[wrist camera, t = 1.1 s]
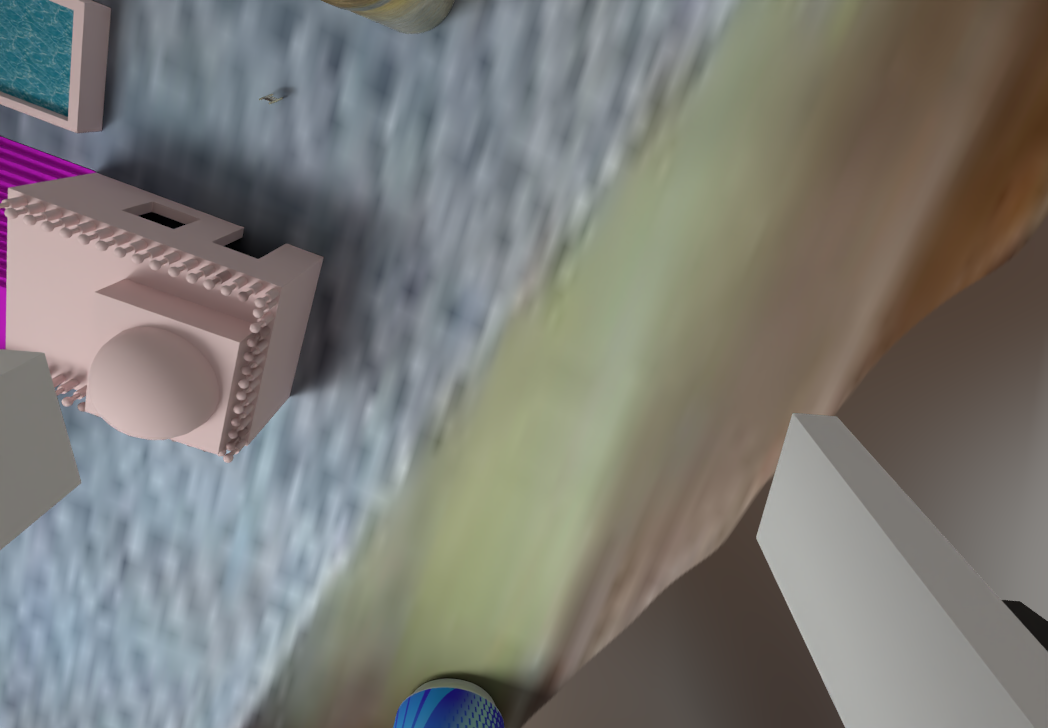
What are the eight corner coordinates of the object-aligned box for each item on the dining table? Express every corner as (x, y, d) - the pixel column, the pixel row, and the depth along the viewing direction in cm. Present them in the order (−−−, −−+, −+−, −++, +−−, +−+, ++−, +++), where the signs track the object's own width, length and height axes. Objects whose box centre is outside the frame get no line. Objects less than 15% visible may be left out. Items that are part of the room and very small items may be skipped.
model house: (362, 108, 30) (271, 115, 20) (292, 394, 37) (198, 503, 27) (-170, -107, 27) (-580, -221, 17) (-139, 246, 34) (-418, 309, 24)
